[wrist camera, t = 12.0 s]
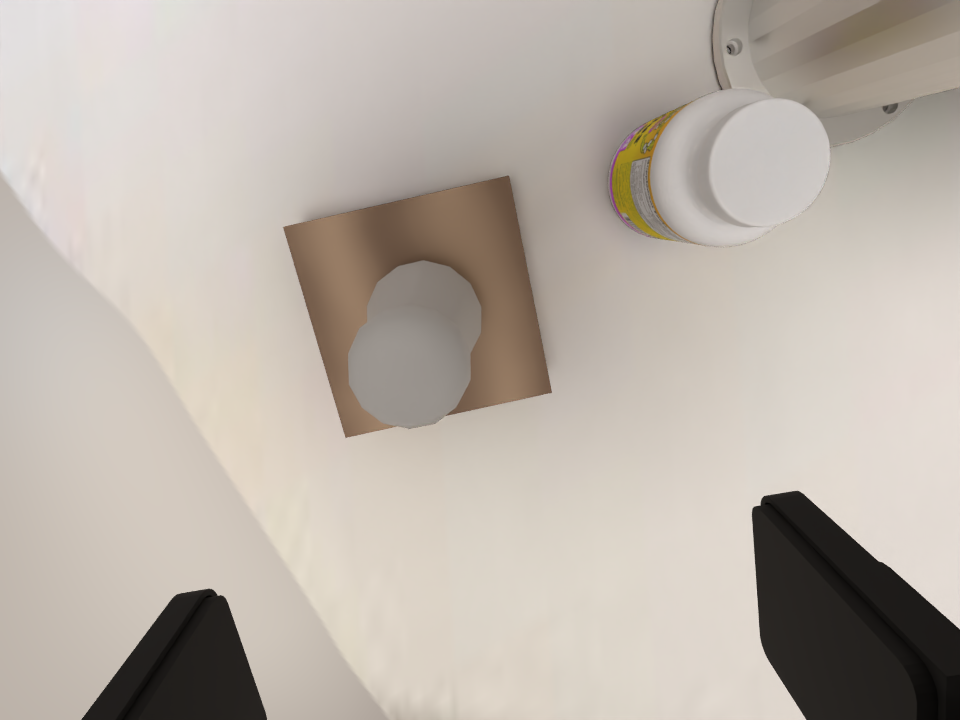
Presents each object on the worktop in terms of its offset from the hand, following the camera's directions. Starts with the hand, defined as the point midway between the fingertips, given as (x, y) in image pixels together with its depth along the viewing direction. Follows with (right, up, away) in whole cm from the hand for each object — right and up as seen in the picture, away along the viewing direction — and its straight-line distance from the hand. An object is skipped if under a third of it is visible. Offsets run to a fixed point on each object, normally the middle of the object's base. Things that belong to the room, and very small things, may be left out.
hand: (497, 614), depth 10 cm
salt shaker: (-3, +7, +22) cm, 23 cm away
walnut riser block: (-3, +8, +26) cm, 27 cm away
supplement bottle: (+10, +15, +25) cm, 31 cm away
